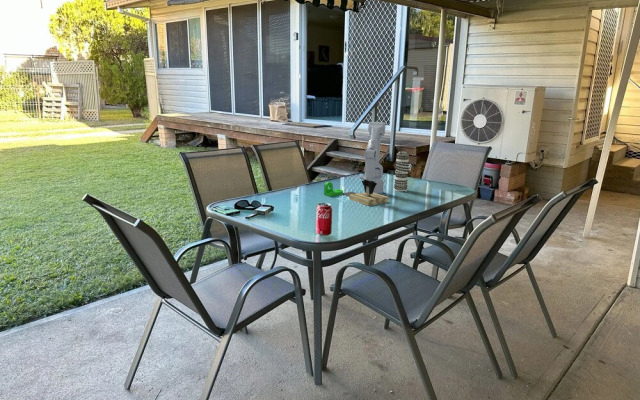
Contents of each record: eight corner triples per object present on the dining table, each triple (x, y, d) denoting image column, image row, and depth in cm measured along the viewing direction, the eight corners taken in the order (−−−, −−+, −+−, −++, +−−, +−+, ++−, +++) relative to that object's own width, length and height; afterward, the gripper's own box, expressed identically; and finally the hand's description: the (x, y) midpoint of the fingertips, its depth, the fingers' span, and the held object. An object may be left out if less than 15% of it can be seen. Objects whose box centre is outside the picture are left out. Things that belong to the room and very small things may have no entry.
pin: (367, 198, 253) (369, 185, 251) (371, 200, 250) (373, 186, 248) (363, 199, 251) (364, 185, 249) (367, 200, 248) (369, 187, 246)
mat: (351, 192, 271) (352, 191, 271) (362, 195, 264) (362, 194, 264) (339, 194, 266) (339, 193, 266) (350, 197, 258) (350, 196, 258)
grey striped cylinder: (393, 191, 276) (395, 152, 270) (393, 188, 285) (395, 150, 279) (407, 192, 275) (410, 153, 269) (407, 189, 284) (410, 151, 277)
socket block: (369, 196, 262) (369, 191, 261) (388, 202, 249) (388, 197, 248) (349, 199, 252) (349, 194, 252) (367, 205, 240) (367, 200, 239)
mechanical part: (330, 197, 257) (330, 184, 255) (323, 195, 262) (323, 182, 260) (344, 193, 265) (345, 181, 263) (338, 192, 269) (338, 179, 267)
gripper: (356, 168, 250) (355, 191, 253) (373, 172, 238) (372, 196, 242) (365, 167, 254) (364, 190, 257) (382, 171, 242) (381, 195, 246)
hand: (368, 193), depth 250 cm, fingers closed on pin, 3 cm apart
